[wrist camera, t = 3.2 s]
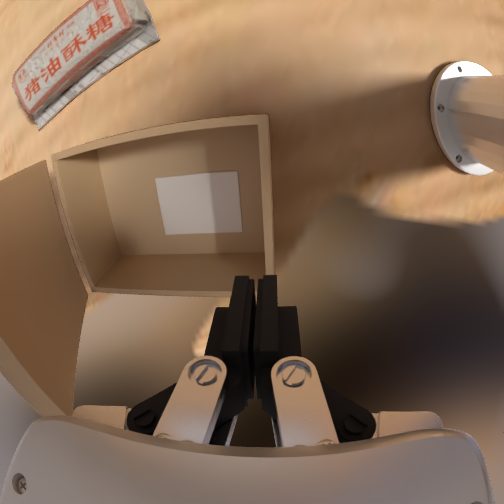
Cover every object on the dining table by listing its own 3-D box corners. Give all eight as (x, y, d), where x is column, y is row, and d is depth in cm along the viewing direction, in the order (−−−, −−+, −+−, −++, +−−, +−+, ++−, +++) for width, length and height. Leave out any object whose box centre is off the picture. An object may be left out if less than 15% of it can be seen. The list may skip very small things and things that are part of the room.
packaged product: (116, -37, 10) (142, 29, 15) (137, -22, 14) (164, 41, 19) (0, 72, 14) (16, 137, 19) (26, 70, 19) (44, 129, 23)
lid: (-55, 217, 4) (-77, 231, 4) (90, 437, 11) (66, 438, 10) (59, 154, 17) (41, 161, 17) (100, 292, 24) (84, 296, 23)
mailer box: (268, 113, 22) (266, 114, 16) (274, 254, 28) (273, 296, 22) (94, 140, 23) (51, 155, 17) (121, 256, 30) (92, 291, 24)
